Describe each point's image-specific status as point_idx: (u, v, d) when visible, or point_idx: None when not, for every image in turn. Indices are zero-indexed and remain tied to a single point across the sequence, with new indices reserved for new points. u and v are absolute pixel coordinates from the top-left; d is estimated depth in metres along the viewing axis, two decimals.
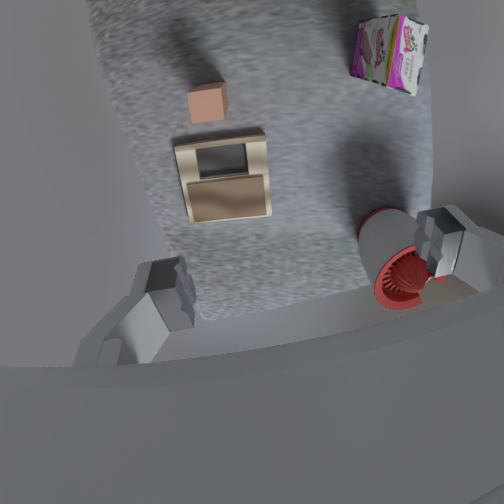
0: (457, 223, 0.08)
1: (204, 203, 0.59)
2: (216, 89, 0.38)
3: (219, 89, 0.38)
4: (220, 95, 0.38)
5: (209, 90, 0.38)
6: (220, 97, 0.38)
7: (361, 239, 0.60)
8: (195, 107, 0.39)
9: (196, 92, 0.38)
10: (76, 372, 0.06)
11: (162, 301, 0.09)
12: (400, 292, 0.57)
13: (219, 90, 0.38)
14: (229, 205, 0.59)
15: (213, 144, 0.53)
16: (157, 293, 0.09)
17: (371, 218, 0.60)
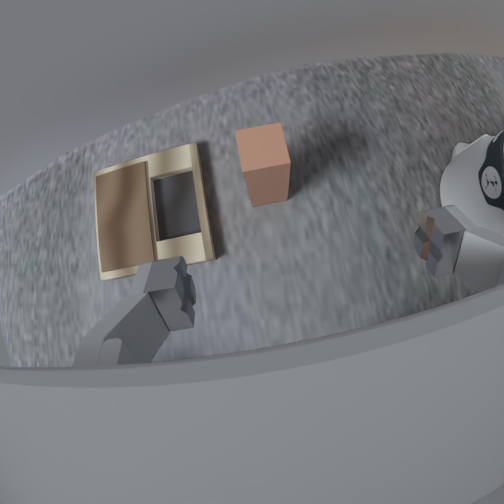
0: (457, 223, 0.08)
1: (118, 186, 0.40)
2: (287, 157, 0.28)
3: (288, 161, 0.28)
4: (279, 163, 0.28)
5: (285, 149, 0.28)
6: (276, 163, 0.28)
7: None
8: (259, 133, 0.29)
9: (281, 133, 0.29)
10: (76, 372, 0.06)
11: (162, 301, 0.09)
12: None
13: (286, 161, 0.28)
14: (114, 219, 0.40)
15: (198, 189, 0.40)
16: (157, 293, 0.09)
17: None
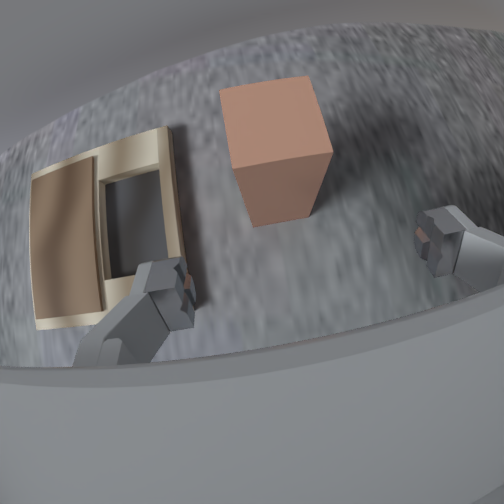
0: (457, 223, 0.08)
1: (57, 193, 0.25)
2: (327, 141, 0.13)
3: (328, 149, 0.13)
4: (309, 152, 0.13)
5: (321, 124, 0.13)
6: (303, 152, 0.13)
7: None
8: (267, 94, 0.14)
9: (311, 94, 0.14)
10: (76, 372, 0.06)
11: (162, 301, 0.09)
12: None
13: (325, 149, 0.13)
14: (49, 243, 0.25)
15: (166, 199, 0.25)
16: (157, 293, 0.09)
17: None
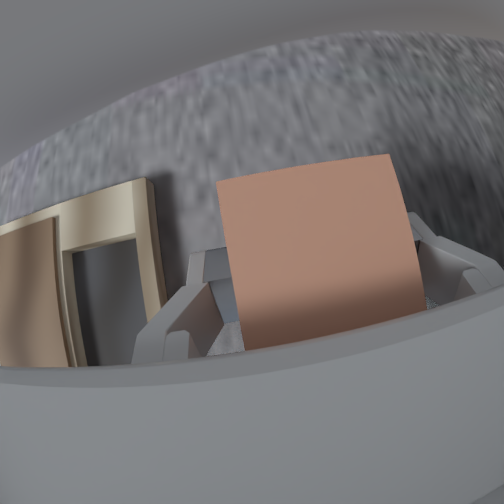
0: (413, 232, 0.08)
1: (16, 263, 0.19)
2: (420, 306, 0.07)
3: None
4: None
5: (414, 268, 0.07)
6: None
7: None
8: (314, 198, 0.07)
9: (397, 199, 0.07)
10: (76, 372, 0.06)
11: (221, 291, 0.09)
12: None
13: None
14: (14, 326, 0.18)
15: (148, 287, 0.18)
16: (217, 283, 0.09)
17: None
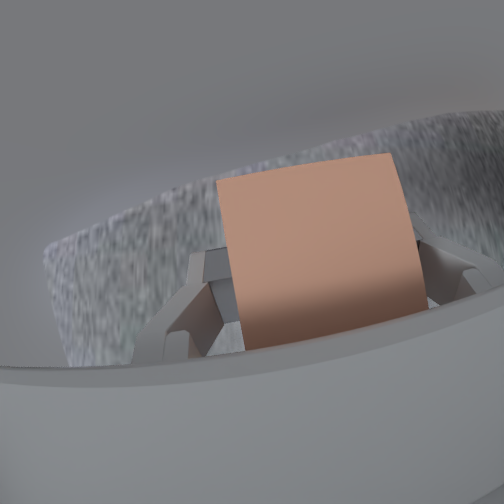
0: None
1: None
2: (422, 306, 0.07)
3: None
4: None
5: (416, 268, 0.07)
6: None
7: None
8: (315, 197, 0.07)
9: (399, 198, 0.07)
10: (76, 372, 0.06)
11: (221, 291, 0.09)
12: None
13: None
14: None
15: None
16: (217, 283, 0.09)
17: None
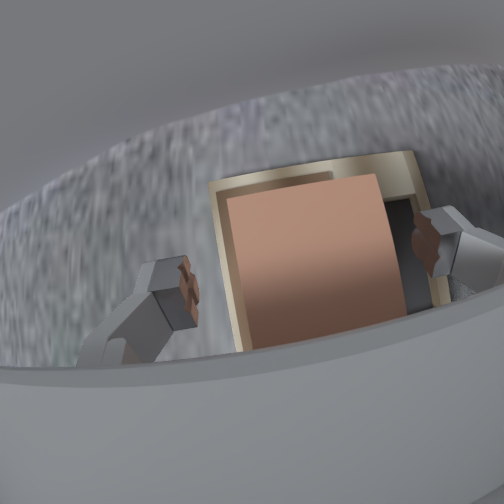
0: (454, 224, 0.08)
1: None
2: (400, 304, 0.08)
3: None
4: None
5: (395, 272, 0.08)
6: None
7: None
8: (309, 213, 0.09)
9: (381, 213, 0.09)
10: (76, 372, 0.06)
11: (166, 300, 0.09)
12: None
13: None
14: None
15: None
16: (161, 292, 0.09)
17: None
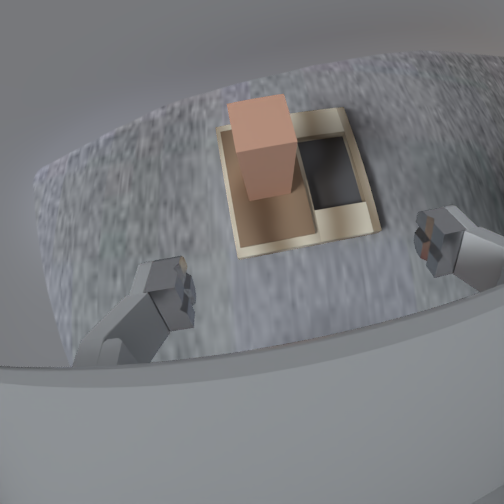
0: (457, 223, 0.08)
1: None
2: (293, 135, 0.22)
3: (294, 140, 0.22)
4: (282, 142, 0.22)
5: (290, 125, 0.22)
6: (278, 142, 0.22)
7: None
8: (257, 107, 0.22)
9: (285, 106, 0.22)
10: (76, 372, 0.06)
11: (162, 301, 0.09)
12: None
13: (292, 140, 0.22)
14: None
15: (355, 156, 0.34)
16: (157, 293, 0.09)
17: None
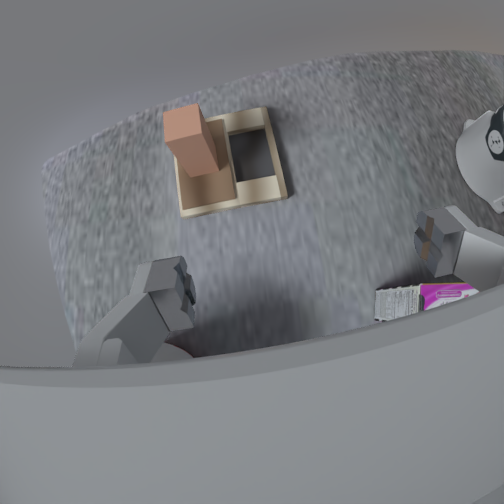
0: (457, 223, 0.08)
1: None
2: (200, 129, 0.35)
3: (200, 132, 0.35)
4: (192, 134, 0.35)
5: (199, 123, 0.35)
6: (190, 134, 0.35)
7: None
8: (180, 113, 0.35)
9: (197, 111, 0.35)
10: (76, 372, 0.06)
11: (162, 301, 0.09)
12: None
13: (198, 132, 0.35)
14: None
15: (271, 142, 0.47)
16: (157, 293, 0.09)
17: (190, 355, 0.42)
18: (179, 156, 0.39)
